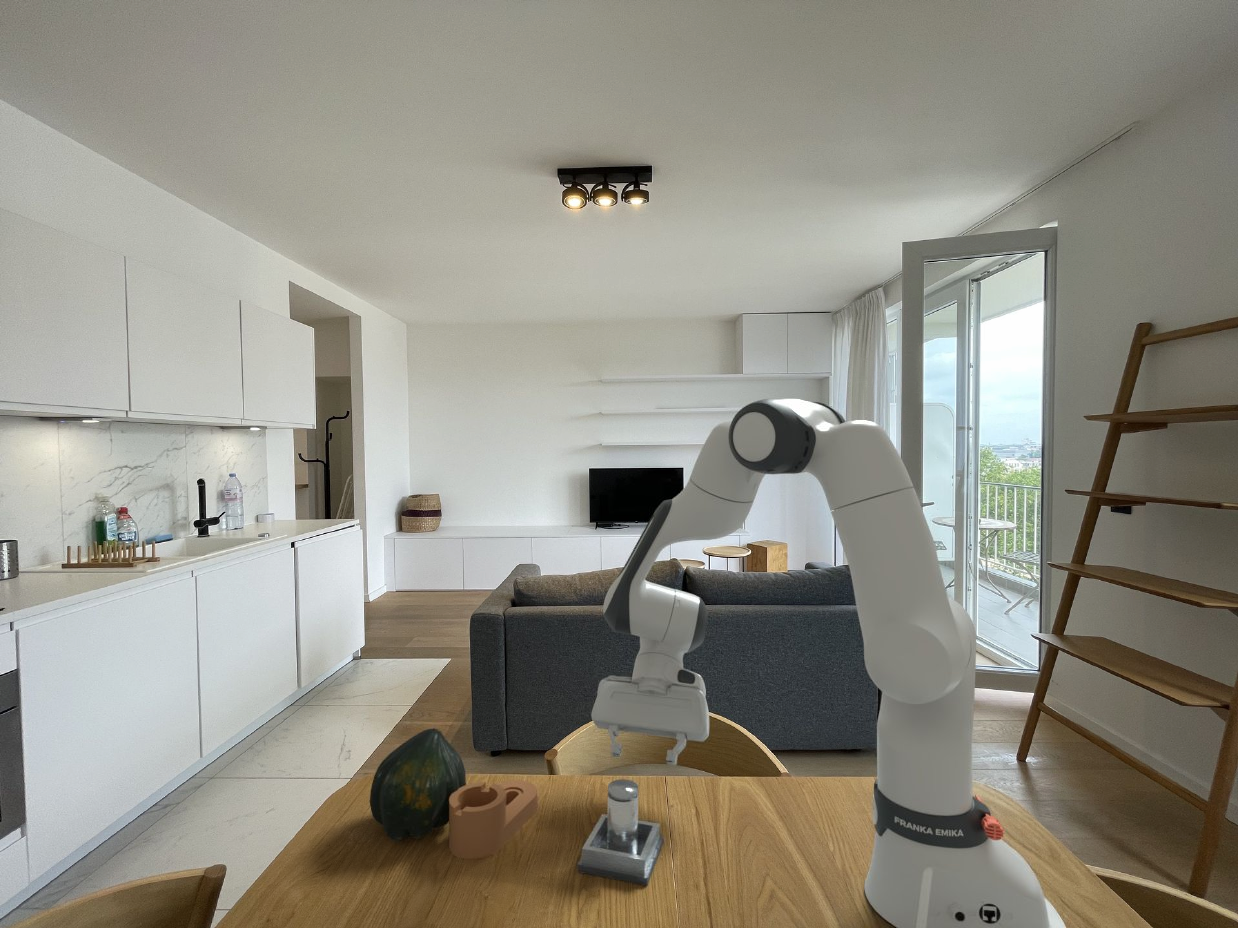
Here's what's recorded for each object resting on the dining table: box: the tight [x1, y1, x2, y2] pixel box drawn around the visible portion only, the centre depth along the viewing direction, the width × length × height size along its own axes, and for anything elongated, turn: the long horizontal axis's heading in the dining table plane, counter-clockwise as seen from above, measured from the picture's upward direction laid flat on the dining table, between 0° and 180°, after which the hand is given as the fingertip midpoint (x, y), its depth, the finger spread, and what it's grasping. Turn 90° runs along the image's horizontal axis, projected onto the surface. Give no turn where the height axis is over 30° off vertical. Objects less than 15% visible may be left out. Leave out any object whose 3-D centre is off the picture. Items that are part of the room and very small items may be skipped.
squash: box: [369, 727, 467, 842], centre depth 97 cm, size 14×15×15 cm
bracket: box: [448, 779, 538, 860], centre depth 97 cm, size 18×8×7 cm, turn 158°
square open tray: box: [576, 813, 665, 886], centre depth 89 cm, size 10×10×3 cm
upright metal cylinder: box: [607, 779, 639, 855], centre depth 89 cm, size 4×4×9 cm
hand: (642, 759), depth 101 cm, fingers open, 8 cm apart
